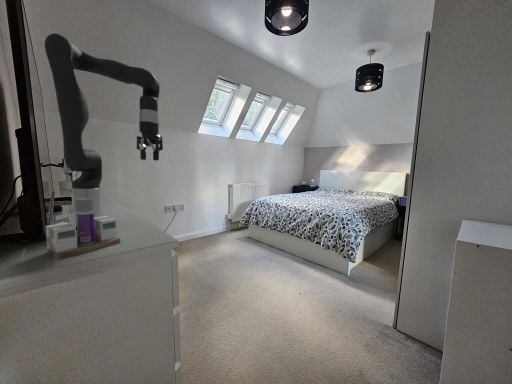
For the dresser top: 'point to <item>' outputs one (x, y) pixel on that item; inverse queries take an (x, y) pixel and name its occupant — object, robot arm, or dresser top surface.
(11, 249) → the dresser top surface
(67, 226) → the board
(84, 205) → the container
